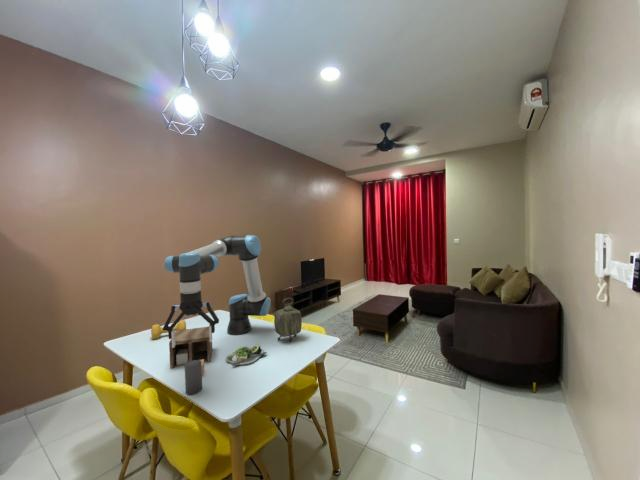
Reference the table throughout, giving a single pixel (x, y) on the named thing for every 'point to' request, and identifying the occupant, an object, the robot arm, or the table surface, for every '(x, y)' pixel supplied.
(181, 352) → the grey lane block
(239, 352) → the avocado toast plate
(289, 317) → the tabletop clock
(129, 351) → the table surface
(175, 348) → the lane shelf
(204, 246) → the robot arm
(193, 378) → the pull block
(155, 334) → the dumbbell
